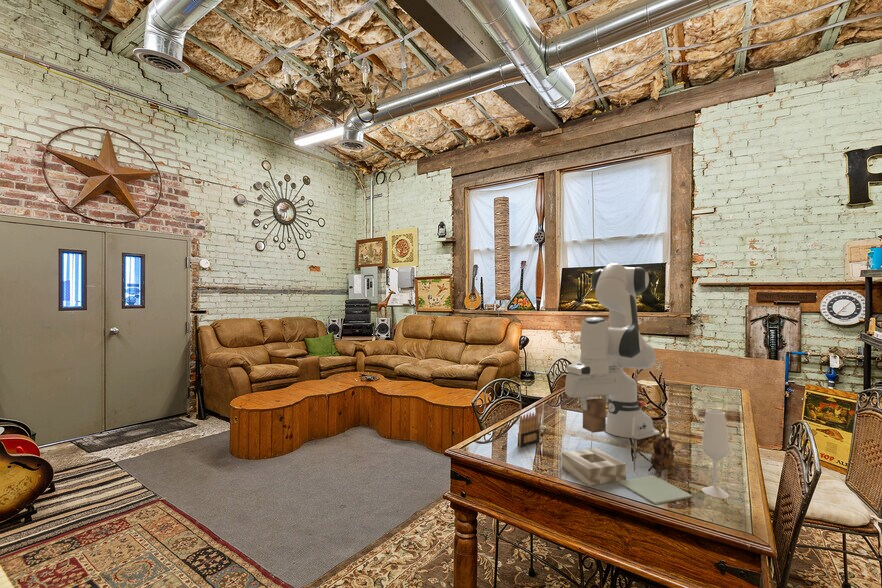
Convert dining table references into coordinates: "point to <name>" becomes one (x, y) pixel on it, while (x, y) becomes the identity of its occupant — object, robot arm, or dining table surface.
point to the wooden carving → (662, 453)
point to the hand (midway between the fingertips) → (594, 409)
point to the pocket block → (593, 466)
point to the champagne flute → (715, 447)
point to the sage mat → (654, 489)
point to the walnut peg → (595, 415)
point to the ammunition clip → (528, 430)
